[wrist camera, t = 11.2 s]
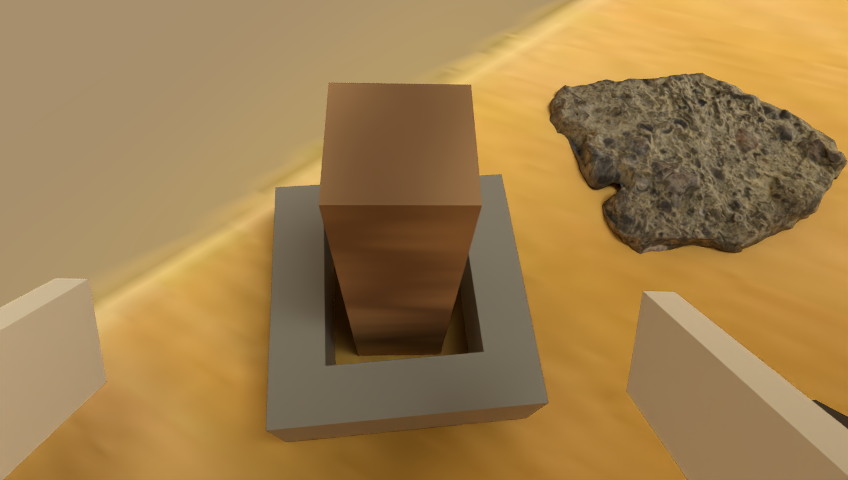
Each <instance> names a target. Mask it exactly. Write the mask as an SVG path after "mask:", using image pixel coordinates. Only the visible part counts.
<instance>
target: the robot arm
mask: <svg viewBox="0 0 848 480" xmlns="http://www.w3.org/2000/svg"><path fill="white" fill-rule="evenodd" d="M105 383H106V376H105V370H104V364H103V359H102V353H101V347H100V341H99V335H98V330H97V324H96V318H95V312H94V306H93V300H92V295H91V289H90V283H89V279H71V278H55V279H53V280H51V281H49V282H47V283H46V284H44V285H42V286H40V287H38V288H36V289H34V290H32V291H30V292H28V293H26V294H25V295H23V296H21V297H19V298H17V299H15V300H13V301H11V302H10V303H7V304H6V305H4V306H2V307H0V480H3V479H4V478H6V477H7V476H8V475H9V474H10V473H11V472H12V471H13V470H14V469H15V468H16V467H17V466H18V465H19V464H20V463H21V462H22V461H23V460H25V459H26V458H27V457H28V456H29V455H30V454H31V453H32V452H33V451H34V450H35V449H36V448H37V447H38V446H39V445H40V444H41V443H43V442H44V441H45V440H46V439H47V438H48V437H49V436H50V435H51V434H52V433H53V432H54V431H55V430H56V429H57V428H58V427H59V426H60V425H62V424H63V423H64V422H65V421H66V420H67V419H68V418H69V417H70V416H71V415H72V414H73V413H74V412H75V411H76V410H77V409H78V408H80V407H81V406H82V405H83V404H84V403H85V402H86V401H87V400H88V399H89V398H90V397H91V396H92V395H93V394H94V393H95V392H96V391H97V390H99V389H100V388H101V387H102V386H103V385H104V384H105ZM627 393H628V394H629V395H630V397H631V398H632V400H633V401H634V403H635V404H636V406H637V407H638V409H639V410H640V411H641V413H642V414H643V416H644V417H645V419H646V420H647V422H648V423H649V425H650V426H651V427H652V429H653V430H654V432H655V433H656V435H657V436H658V438H659V439H660V440H661V442H662V443H663V445H664V446H665V448H666V449H667V451H668V452H669V454H670V455H671V456H672V458H673V459H674V461H675V462H676V464H677V465H678V467H679V468H680V470H681V471H682V472H683V474H684V475H685V477H686V478H687V480H848V417H847V416H845V415H843V414H841V413H839V412H837V411H836V410H834V409H832V408H830V407H828V406H826V405H824V404H822V403H820V402H818V401H816V400H811V399H809V398H808V397H807V396H806V395H804V394H803V393H802V392H800V391H799V390H798V389H797V388H795V387H794V386H793V385H792V384H790V383H789V382H788V381H787V380H785V379H784V378H783V377H782V376H780V375H779V374H778V373H777V372H775V371H774V370H773V369H771V368H770V367H769V366H768V365H766V364H765V363H764V362H763V361H761V360H760V359H759V358H758V357H756V356H755V355H754V354H753V353H751V352H750V351H749V350H748V349H746V348H745V347H744V346H742V345H741V344H740V343H739V342H737V341H736V340H735V339H734V338H732V337H731V336H730V335H729V334H727V333H726V332H725V331H724V330H722V329H721V328H720V327H719V326H717V325H716V324H715V323H713V322H712V321H711V320H710V319H708V318H707V317H706V316H705V315H703V314H702V313H701V312H700V311H698V310H697V309H696V308H695V307H693V306H692V305H691V304H690V303H688V302H687V301H686V300H684V299H683V298H682V297H681V296H679V295H678V294H677V293H676V292H666V291H643V294H642V300H641V306H640V313H639V319H638V325H637V331H636V337H635V343H634V349H633V355H632V361H631V367H630V374H629V380H628V386H627Z"/></svg>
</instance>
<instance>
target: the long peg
mask: <svg viewBox="0 0 848 480" xmlns="http://www.w3.org/2000/svg"><path fill="white" fill-rule="evenodd" d="M481 207H482V200H481V189H480V178H479V167H478V156H477V145H476V134H475V123H474V113H473V102H472V91H471V85H450V84H382V83H381V84H380V83H376V84H375V83H329V85H328V97H327V109H326V123H325V133H324V146H323V158H322V170H321V182H320V194H319V209H320V212H321V216H322V220H323V224H324V227H325V231H326V235H327V239H328V243H329V246H330V250H331V254H332V258H333V262H334V265H335V269H336V273H337V277H338V281H339V284H340V288H341V292H342V296H343V300H344V303H345V307H346V311H347V315H348V318H349V322H350V326H351V330H352V334H353V337H354V341H355V345H356V349H357V353H358V356H364V355H440V353H441V350H442V346H443V343H444V339H445V335H446V332H447V328H448V325H449V321H450V318H451V314H452V310H453V307H454V303H455V300H456V296H457V293H458V289H459V286H460V282H461V278H462V275H463V271H464V268H465V264H466V261H467V257H468V254H469V250H470V246H471V243H472V239H473V236H474V232H475V229H476V225H477V221H478V218H479V214H480V211H481Z"/></svg>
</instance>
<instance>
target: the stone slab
mask: <svg viewBox="0 0 848 480" xmlns="http://www.w3.org/2000/svg"><path fill="white" fill-rule="evenodd" d="M550 122H551V123H552V124H553V125H554V126H555V128H556V130H557V133H561V134H563V135H565V136H566V138H568V140H569V143H570V145H571V147H572V149H573V152H574V154H575V156H576V158H577V160H578V163H579V167H580V171H581V173H582V174H583V176H584V178H585V179H586V181H587V183H588V185H589V186H592V187H593V188H595V189H599V188H603V187H606V186H608V185H610V184H611V183H617V184H620V185H621V187H622V188H621V189H620V190H619V191H618V192H617V193H616V194H614V195H613V196H612V197H611V198H610V199H609V200H607V201H606V202H605V204H604V205H603V210H604V216H605V217H606V219H607V222H608V225H609V227H610V228H611V229H612V231H613V232H615V233H616V234H618V235H619V236H620V237H621V239H622V241H623V242H624V243H626V244H628V245H629V246H630V247H631V248H633V249H634V250H635V251H636V252H637V253H639V254H642V253H645V252H649V251H663V250H671V249H674V248H678V247H682V246H687V245H697V246H702V247H714V248H717V249H719V250H722V251H728V252H741V251H742V249H744V248H747V247H749V246H751V245H754V244H757V243H758V242H760V241H762V240H763V239H765V238H767V237H769V236H772V235H775V234H776V233H778V232H780V231H782V230H783V229H791V228H793V226H794V225H795V223H796V222H797V220H800V219H805V218H807V217H808V216H809V215H810V214H812V213H815V211H816V210H817V209H818V207H819V204H820V201H821V199H822V197H823V195H824V193H825V192H826V191H827V190H828V189H830V187H831V185H832V181H833V180H834V179H837V177H838V176H839V174H840V172H841V171H842V169H843V168H844V167H845V165H846V164H847V160H846V158H845V156H844V154H843V153H842V152H839V151H838V150H837V147H836V143H835V141H834V140H833V139H831V138H830V137H828V136H826V135H825V134H823V133H822V132H820V131H818V130H816V129H814V128H812V127H811V126H810V125H809V124H808V123H806V122H805V121H804V120H802V119H800V118H799V117H797V116H795V115H793V114H792V113H790V112H789V111H788V110H782V109H779V108H777V107H775V106H774V105H771V104H769V103H766V102H763V101H760V100H759V98H758V97H756V96H754V95H750V94H746V93H743V92H742V91H741V90H740V89H739V88H738V87H736V86H734V85H732V84H729V83H726V82H723V81H719V80H716V79H714V78H711V77H709V76H707V75H705V74H703V73H696V74H689V75H688V74H682V75H672V76H669V77H660V78H656V79H627V80H624V81H620V82H614V81H611V80H603V81H598V82H596V83H593V84H589V85H580V86H576V87H570V86H566V85H565V86H564V87H562V88H561V89H560V90H559V91H558V92H557V93H556V96H555V97H554V98H553V99H552V100H551V117H550ZM577 149H578V150H577Z"/></svg>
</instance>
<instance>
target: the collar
mask: <svg viewBox="0 0 848 480" xmlns="http://www.w3.org/2000/svg"><path fill="white" fill-rule="evenodd" d="M479 178H480V189H481V200H482V207H481V211H480V214H479V218H478V221H477V225H476V229H475V232H474V236H473V239H472V243H471V246H470V250H469V254H468V257H467V261H466V264H465V268H464V271H463V275H462V278H461V282H460V286H459V289H460V296H461V303H462V310H463V317H464V324H465V331H466V338H467V345H468V352H469V353H466V354H454V355H443V356H432V357H421V358H409V359H398V360H387V361H375V362H364V363H353V364H341V365H336V362H335V313H334V264H333V258H332V254H331V250H330V246H329V243H328V239H327V235H326V231H325V227H324V224H323V220H322V216H321V212H320V209H319V194H320V185H310V186H293V187H276V190H275V215H274V239H273V264H272V289H271V314H270V339H269V363H268V388H267V413H266V431H268V432H269V433H271V434H273V435H275V436H276V437H278V438H280V439H282V440H283V441H285V442H293V441H303V440H313V439H323V438H333V437H343V436H353V435H363V434H373V433H382V432H392V431H402V430H412V429H422V428H432V427H442V426H452V425H462V424H472V423H482V422H492V421H502V420H512V419H522V418H527V417H528V416H530V415H531V414H533V413H534V412H536V411H537V410H539V409H540V408H541V407H543V406H544V405H546V404H547V403H548V398H547V393H546V388H545V383H544V379H543V374H542V369H541V364H540V359H539V354H538V349H537V345H536V340H535V335H534V330H533V325H532V320H531V315H530V311H529V306H528V301H527V296H526V291H525V286H524V281H523V277H522V272H521V267H520V262H519V257H518V252H517V247H516V243H515V238H514V233H513V228H512V223H511V218H510V213H509V209H508V204H507V199H506V194H505V189H504V184H503V179H502V175H501V174H499V175H482V176H479Z"/></svg>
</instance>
